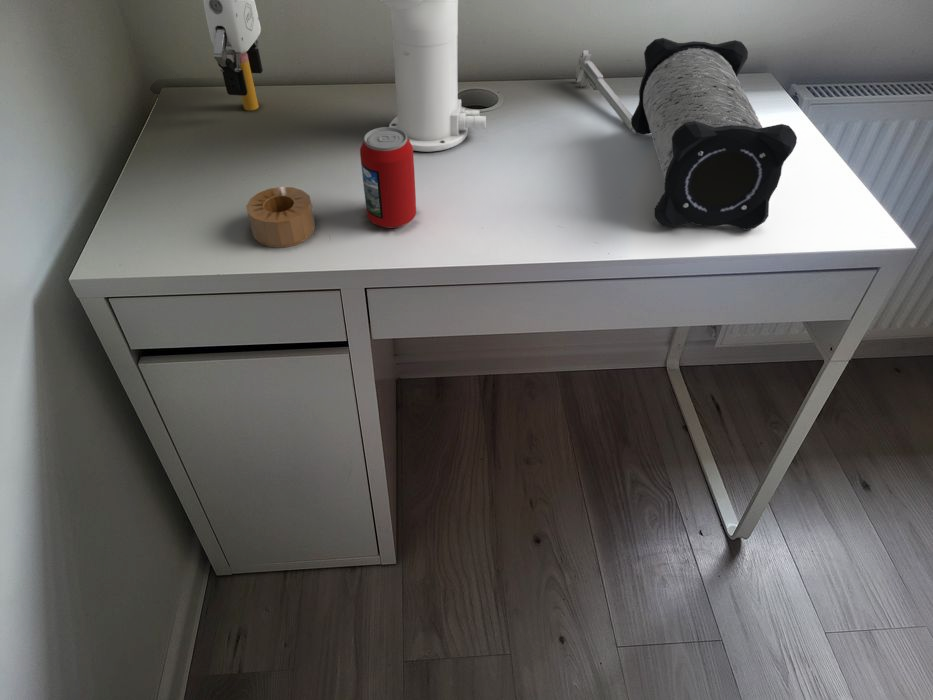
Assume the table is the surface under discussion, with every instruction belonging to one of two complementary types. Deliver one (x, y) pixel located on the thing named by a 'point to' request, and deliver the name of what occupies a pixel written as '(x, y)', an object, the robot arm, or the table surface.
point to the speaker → (708, 136)
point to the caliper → (600, 86)
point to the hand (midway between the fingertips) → (245, 82)
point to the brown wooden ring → (281, 217)
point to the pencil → (248, 84)
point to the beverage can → (388, 177)
